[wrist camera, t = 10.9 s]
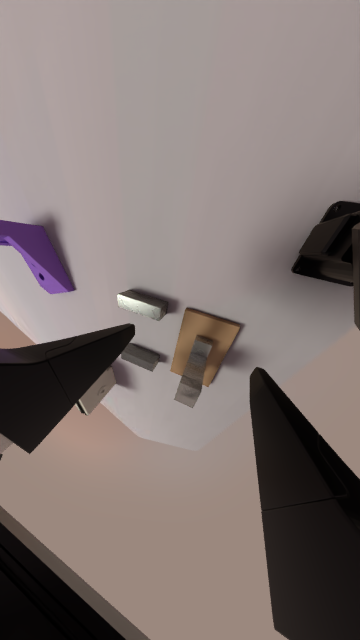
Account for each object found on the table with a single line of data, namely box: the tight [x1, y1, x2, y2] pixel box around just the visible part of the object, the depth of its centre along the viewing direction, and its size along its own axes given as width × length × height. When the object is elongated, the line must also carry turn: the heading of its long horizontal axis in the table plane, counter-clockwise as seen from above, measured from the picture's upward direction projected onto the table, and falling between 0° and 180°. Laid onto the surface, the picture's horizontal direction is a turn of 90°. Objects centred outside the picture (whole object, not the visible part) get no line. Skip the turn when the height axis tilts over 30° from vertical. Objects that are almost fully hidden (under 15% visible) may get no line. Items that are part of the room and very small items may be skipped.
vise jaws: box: [118, 290, 168, 372], centre depth 26 cm, size 8×16×3 cm, turn 169°
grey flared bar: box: [174, 335, 213, 408], centre depth 21 cm, size 3×8×8 cm, turn 168°
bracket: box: [0, 220, 74, 294], centre depth 25 cm, size 12×7×7 cm, turn 10°
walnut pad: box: [170, 308, 240, 387], centre depth 25 cm, size 9×16×1 cm, turn 169°
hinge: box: [75, 366, 116, 415], centre depth 35 cm, size 14×5×10 cm, turn 9°
